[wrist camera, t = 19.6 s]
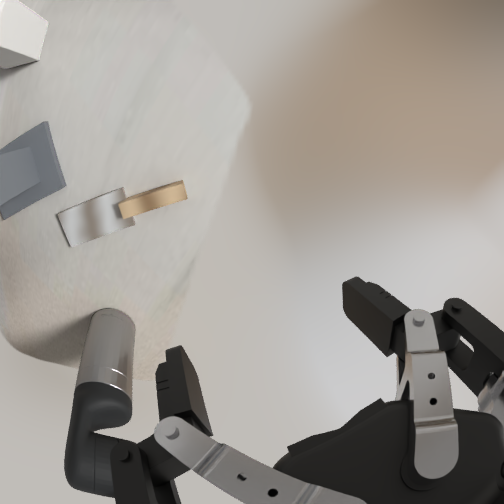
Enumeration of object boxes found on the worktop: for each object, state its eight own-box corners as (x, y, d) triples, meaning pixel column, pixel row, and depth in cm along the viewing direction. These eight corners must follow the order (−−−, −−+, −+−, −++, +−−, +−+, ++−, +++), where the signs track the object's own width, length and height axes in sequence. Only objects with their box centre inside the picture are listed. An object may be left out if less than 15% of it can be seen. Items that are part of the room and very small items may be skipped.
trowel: (179, 168, 38) (180, 171, 36) (189, 205, 41) (190, 210, 39) (59, 212, 35) (54, 217, 33) (73, 245, 38) (68, 251, 36)
